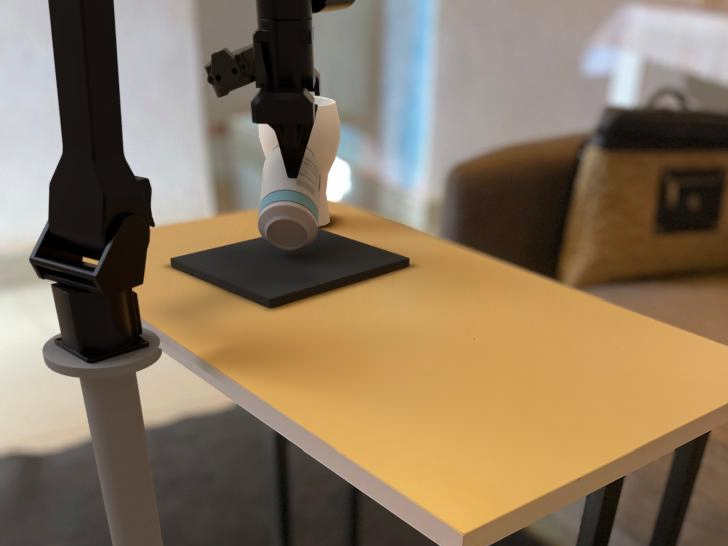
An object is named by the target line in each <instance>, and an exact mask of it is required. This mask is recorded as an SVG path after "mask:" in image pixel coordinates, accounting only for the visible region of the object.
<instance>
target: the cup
mask: <svg viewBox="0 0 728 546" xmlns="http://www.w3.org/2000/svg"><path fill="white" fill-rule="evenodd" d="M313 97H314V99H315V104H317V105H318V109H317V113H316V118H315V122H314V125H313V128H312V132H311V135H310V138H309V141H308V145H307V147H308V148H309V149H310V150H311V151H312V152H313V153H314V155H315V158H316V160H317V161H318V163H319V166H320V169H321V182H320V198H319V215H318V228H319V227H324V226H325V225H328V224H329V223H330V222H331V216H330V208H329V202H328V196H327V188H328V179H329V173H330V171H331V170H332V167H333V165H334V163H335V161H336V158H337V153H338V150H339V146H340V142H341V121H340V116H339V111H338V107H337V102H336V100H334V99H331V98H330V97H326V96H325V97H324V96H315V95H313ZM257 126H258V137H259V138H258V140H259V142H260V146H261V148H262V151H263V155H264V157H265V158H266V157H267V156H268V155H269V154H270V153H271V152H272V150H273V149H274V147H275V146H277V145H278V141H277V137H276V134H275V131H274V130H273V129H272V128H271V127H270V126H269V125H268V124H257Z"/></svg>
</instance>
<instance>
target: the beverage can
mask: <svg viewBox="0 0 728 546" xmlns="http://www.w3.org/2000/svg"><path fill="white" fill-rule="evenodd" d="M262 169H263V170H262V177H261V187H260V198H259V207H258V219H257V229H258V231H259V233H260V235H261V236H260V237H263V238H264V239H265V240H266V241H267V242H268V243H270V244H271V245H273V246H275V247H278V248H281V249H285V250H297V249H302V248H304V247H307V246H308V245H310V244H311V243H312V242H313V241H314V240H315V238H316V236H317V231H318V228H319V227H318V215H319V198H320V182H321V169H320V166H319V163H318V161H317V160H316V158H315V155H314V153H313V152H312V151H311V150H310V149H309V148H308V147H307V148H306V151H305V154H304V158H303V161H302V164H301V167H300V171H299V174H298V177H297V178H296V179H289V178H288V177H287V173H286V170H285V166H284V162H283V159H282V155H281V151H280V148H279V144H278V145H277V146H275V147H274V149H273V150H272V152H271V153H270V154H269V155H268V156H267V157H265V160H264V162H263V167H262Z"/></svg>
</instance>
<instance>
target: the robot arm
mask: <svg viewBox="0 0 728 546" xmlns="http://www.w3.org/2000/svg"><path fill="white" fill-rule="evenodd" d="M47 1H48V14H49V25H50V33H51V34H50V35H51V43H52V44H51V45H52V54H53V63H54V73H55V84H56V93H57V94H56V95H57V104H58V114H59V124H60V132H61V133H60V135H61V145H62V151H61V152H62V153H61V155H60V158H59V160H58V162H57V164H56V166H55V169H54V171H53V174H52V177H51V178H50V181H49V184H48V210H47V212H48V214H47V221H46V223H45V225H44V227H43V229H42V231H41V233H40V235H39V237H38V239H37V241H36V243H35V245H34V247H33V248H32V251H31V253H30V255H29V258H28V262H29V263H30V265H31V267H32V268H33V271H34V273H35V275H36V276H37V278H38V279H40V280H44V281H45V280H47V281H50V282H53V283H51V284H50V288H51V293H52V297H53V302H54V307H55V312H56V316H57V322H58V326H59V331H60V332H59V333H61V336H62V337H59V338H56V339H54V342H55V345H57V346H58V347H60V348H62V349H64V350H65V351H67V352H69V353H71V354H72V355H74V356H76V357H77V358H79V359H81V360H83V361H84V362H86V363H89V364H92V363H96V362H100V361H103V360H106V359H110V358H113V357H116V356H119V355H123V354H126V353H129V352H133V351H136V350H139V349H142V348H146V347H148V346H149V341H148V340H147V339H145V338H143V337H141V336H139V335H142V332H143V330H142V328H143V323H142V316H141V310H140V304H139V303H140V302H139V296H138V293H137V292H136V291H134V290H133V289H135V288H137V287H139V286H142V285H143V284H144V282H145V274H146V263H147V256H148V248H149V245H150V241H151V228H155V227H156V222H155V220H154V217H153V212H152V211H153V210H152V197H153V195H152V194H153V188H152V184H151V180H150V179H149V178H148V177H146V176H145V177H144V176H140V175H135V173H134V172H133V169H132V168H131V165H130V164H129V162H128V161H127V158H126V155H125V148H124V135H123V133H124V132H123V117H122V103H121V102H122V101H121V86H120V72H119V57H118V43H117V42H118V41H117V28H116V12H115V0H47ZM355 2H356V0H255V12H256V29H255V30H254V32H253V33H252V43H251V44H249V45H245V46H243V47H241V48H237V49H235V50H233V51H231V50H230V49H229V48H228V47H224V48H223V49H220V50H217V51H213V52H212V53H211V54H210V61H208V62H207V63H206V64H204V66H203V67H204V70H205V72H206V75H207V76H206V79H207V83H208V84H209V85H211V86H212V89H213V91H214V94H215V96H216V98H217V99H220V98H223V97H226V96H228V95H229V94H230V92H233V91H235V90H238V89H240V88H243V87H245V86H247V85H250V84H253V83H254V84H255V89H259V90H258V91H257V92H256V93H255V95H253V97H252V99H251V101H250V111H251V123H252V124H255V125H258V124H268V125H269V126H270V127H271V128H272V129H273V130H274V131H275V134H276V137H277V141H278V144H279V148H280V151H281V155H282V159H283V162H284V166H285V170H286V173H287V177H288V178H289V179H296V178H297V177H298V174H299V171H300V167H301V164H302V161H303V158H304V154H305V151H306V148H307V145H308V141H309V138H310V135H311V132H312V128H313V125H314V122H315V118H316V113H317V109H318V105H317V104H315V99H314V97H313V96H319V97H321V92H322V89H321V74H320V73H319V71H318V70H317V69H316V67H315V56H314V55H315V54H314V39H315V26H314V25H313V15H314V14H321V13H328V12H337V11H342V10H347V9H348V8H350V7H352V6H353V4H355ZM312 93H314V95H313V94H312ZM84 258H85V259H90V260H93V261H95V262H96V261H97V264H96V263H92V262H88V261H84Z"/></svg>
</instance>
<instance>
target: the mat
mask: <svg viewBox="0 0 728 546" xmlns="http://www.w3.org/2000/svg"><path fill="white" fill-rule="evenodd" d="M410 258H411V257H408V256H405V255H403V254H399V253H396V252H392V251H390V250H387V249H383V248H381V247H377V246H375V245H371V244H368V243H365V242H362V241H359V240H356V239H353V238H350V237H346V236H344V235H340V234H337V233H334V232H331V231H329V230H325V229H322V228H319V227H318V231H317V236H316V238H315V240H314V241H313V242H312V243H311V244H310V245H308V246H307V247H304V248H302V249H297V250H285V249H281V248H278V247H275V246H273V245H271V244H270V243H268V242H267V241H266V240H265V239H264V238H263V237H262V236H259V237H255V238H251V239H247V240H242V241H237V242H233V243H229V244H224V245H221V246H220V245H219V246H217V247H213V248H212V247H211V248H208V249H203V250H199V251H195V252H194V251H193V252H191V253H187V254H182V255H177V256H174V257H170V258H169V261H170V267H172V268H174V269H176V270H179V271H181V272H183V273H186V274H188V275H190V276H193V277H195V278H198V279H200V280H203V281H205V282H207V283H210V284H212V285H215V286H217V287H219V288H221V289H224V290H226V291H229V292H231V293H234V294H235V295H238V296H241V297H243V298H246V299H248V300H249V301H253V302H255V303H257V304H259V305H261V306H265V307H267V308H268V309H269V308H270V309H271V308H274V307H278V306H282V305H284V304H287V303H290V302H295V301H298V300H300V299H304V298H307V297H311V296H314V295H318V294H321V293H324V292H327V291H331V290H333V289H337V288H341V287H344V286H348V285H350V284H354V283H357V282H361V281H364V280H367V279H371V278H373V277H376V276H380V275H384V274H387V273H391V272H394V271H396V270H401V269H403V268H407V267H409V266H410Z"/></svg>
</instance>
